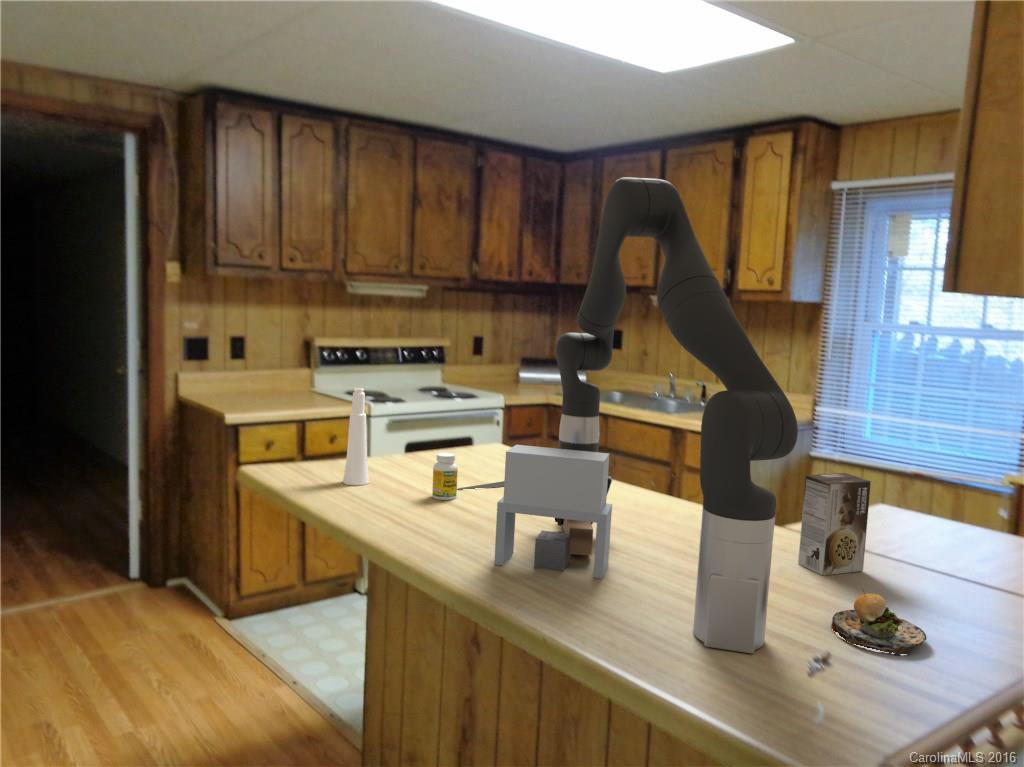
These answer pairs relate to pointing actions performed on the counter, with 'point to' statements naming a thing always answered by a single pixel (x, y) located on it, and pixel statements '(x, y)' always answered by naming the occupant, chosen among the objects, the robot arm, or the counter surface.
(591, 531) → the bar
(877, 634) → the burger
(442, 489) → the supplement bottle
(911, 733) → the counter surface
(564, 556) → the cube
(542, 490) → the cabinet
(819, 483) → the coffee box
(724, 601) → the robot arm
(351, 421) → the cosmetic bottle
